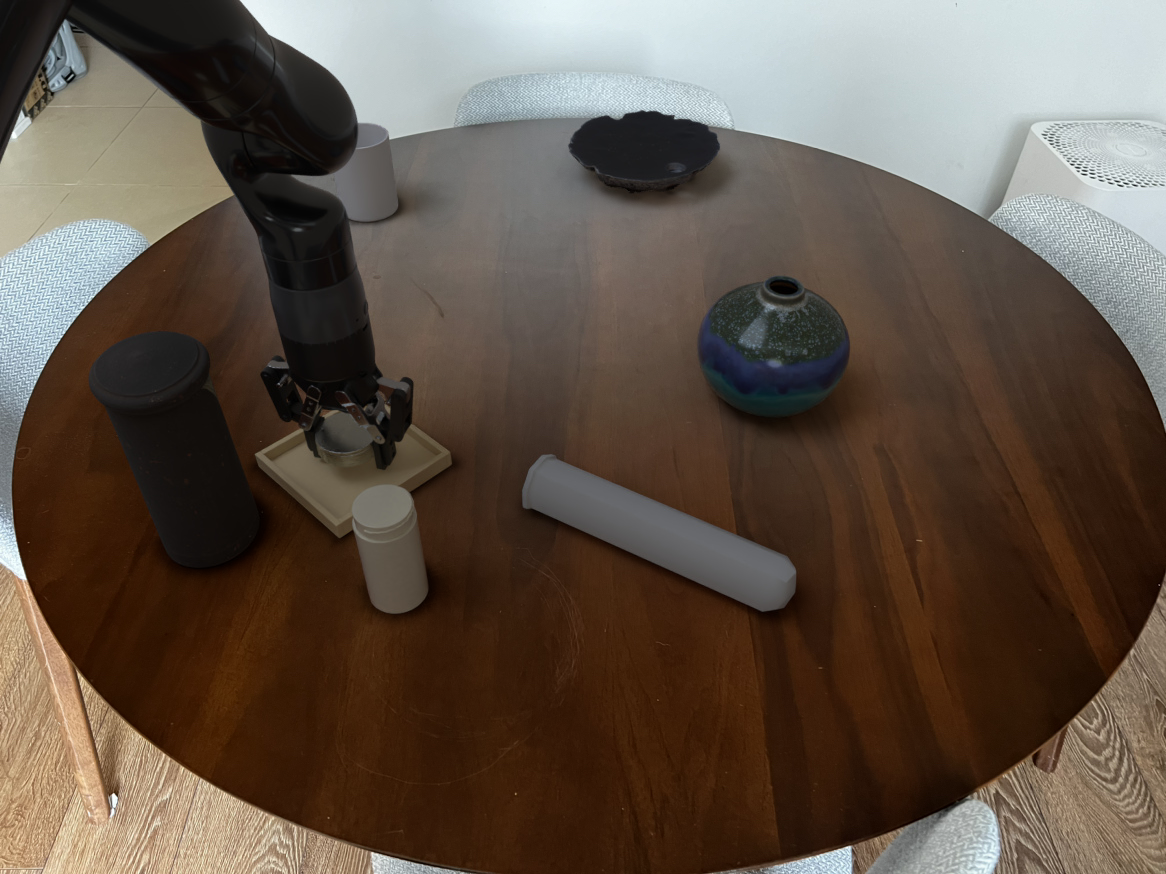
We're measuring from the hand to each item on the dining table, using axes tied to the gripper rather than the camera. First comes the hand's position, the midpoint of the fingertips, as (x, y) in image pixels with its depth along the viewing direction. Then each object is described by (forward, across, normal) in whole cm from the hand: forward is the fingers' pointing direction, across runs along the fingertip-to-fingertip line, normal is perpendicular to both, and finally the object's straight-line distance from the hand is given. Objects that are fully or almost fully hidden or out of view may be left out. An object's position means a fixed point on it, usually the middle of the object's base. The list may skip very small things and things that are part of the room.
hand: (354, 457), depth 87 cm
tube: (+1, +30, -4) cm, 31 cm away
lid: (-3, 0, 0) cm, 3 cm away
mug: (+1, -20, +49) cm, 53 cm away
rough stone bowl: (+1, +16, +67) cm, 69 cm away
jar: (+1, +10, -13) cm, 16 cm away
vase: (+1, +38, +21) cm, 43 cm away
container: (+1, -9, -11) cm, 14 cm away
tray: (+1, 0, 0) cm, 1 cm away
